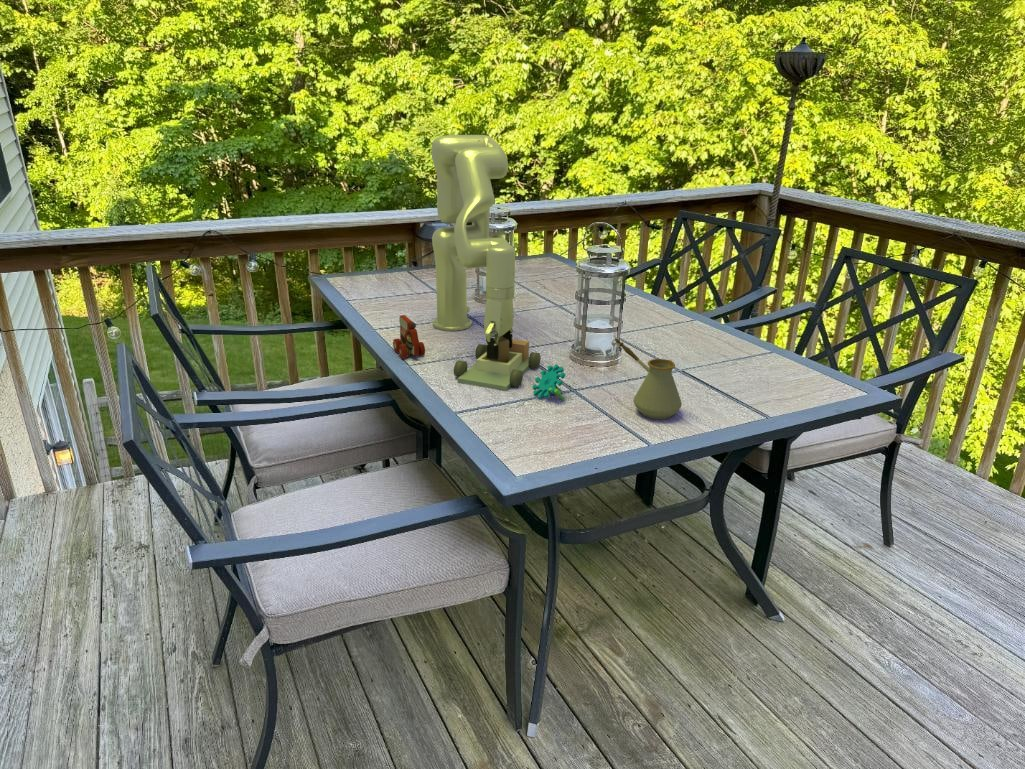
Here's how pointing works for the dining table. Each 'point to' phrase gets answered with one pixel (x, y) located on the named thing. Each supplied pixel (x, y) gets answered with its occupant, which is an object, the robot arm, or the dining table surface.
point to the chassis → (498, 367)
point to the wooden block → (502, 350)
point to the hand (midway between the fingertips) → (499, 352)
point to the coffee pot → (656, 388)
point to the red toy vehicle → (408, 339)
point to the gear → (549, 382)
